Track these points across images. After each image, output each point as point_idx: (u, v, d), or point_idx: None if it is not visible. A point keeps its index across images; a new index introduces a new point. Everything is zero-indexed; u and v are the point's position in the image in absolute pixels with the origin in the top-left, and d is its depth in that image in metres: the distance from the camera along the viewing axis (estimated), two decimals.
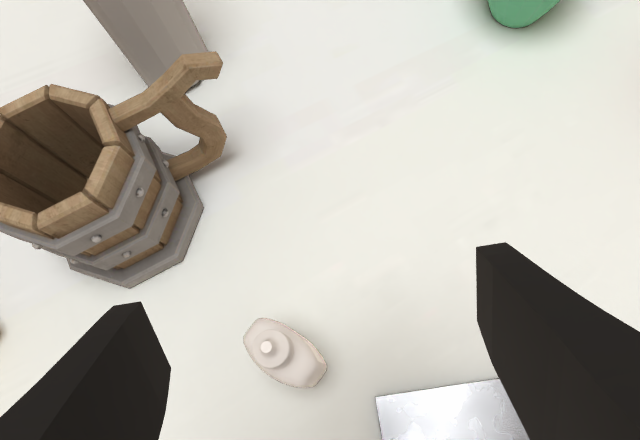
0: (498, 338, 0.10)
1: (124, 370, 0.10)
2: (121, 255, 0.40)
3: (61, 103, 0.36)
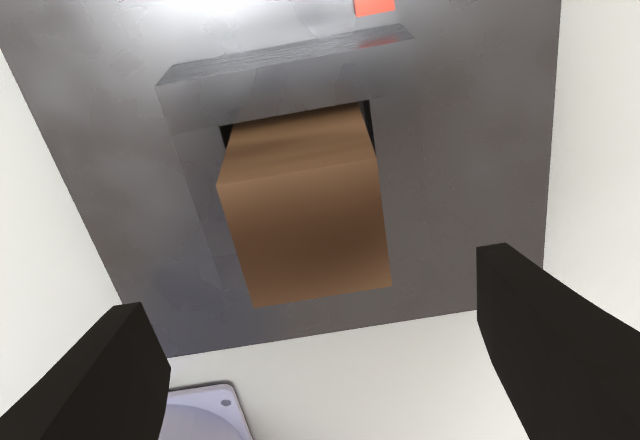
0: (498, 338, 0.10)
1: (124, 370, 0.10)
2: None
3: None
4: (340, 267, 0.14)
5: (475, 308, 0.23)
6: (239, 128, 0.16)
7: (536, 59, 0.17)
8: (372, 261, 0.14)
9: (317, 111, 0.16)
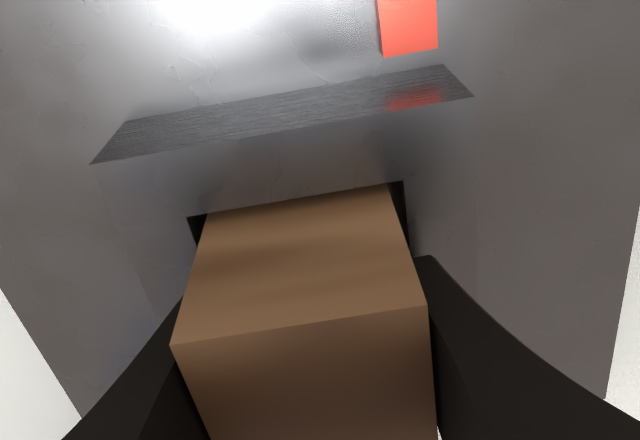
0: None
1: None
2: None
3: None
4: None
5: None
6: (216, 216, 0.11)
7: (627, 111, 0.13)
8: (412, 435, 0.09)
9: None
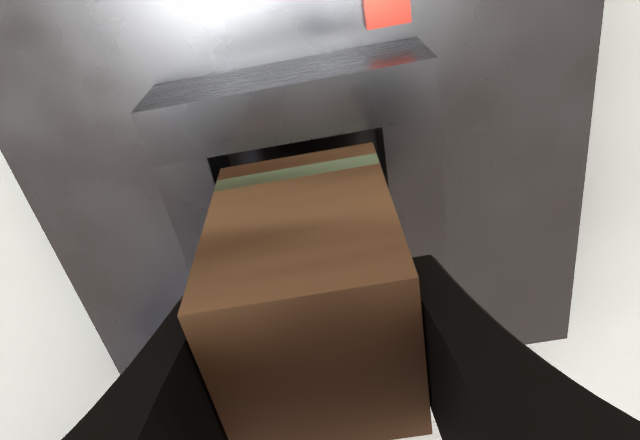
0: None
1: None
2: None
3: None
4: (360, 413, 0.10)
5: None
6: (219, 201, 0.12)
7: (572, 77, 0.15)
8: (406, 405, 0.10)
9: (326, 177, 0.12)
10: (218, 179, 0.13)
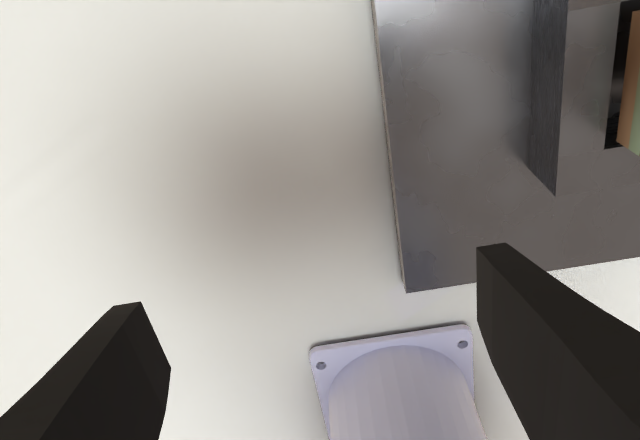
0: (498, 338, 0.10)
1: (124, 370, 0.10)
2: None
3: None
4: None
5: None
6: None
7: None
8: None
9: None
10: None
